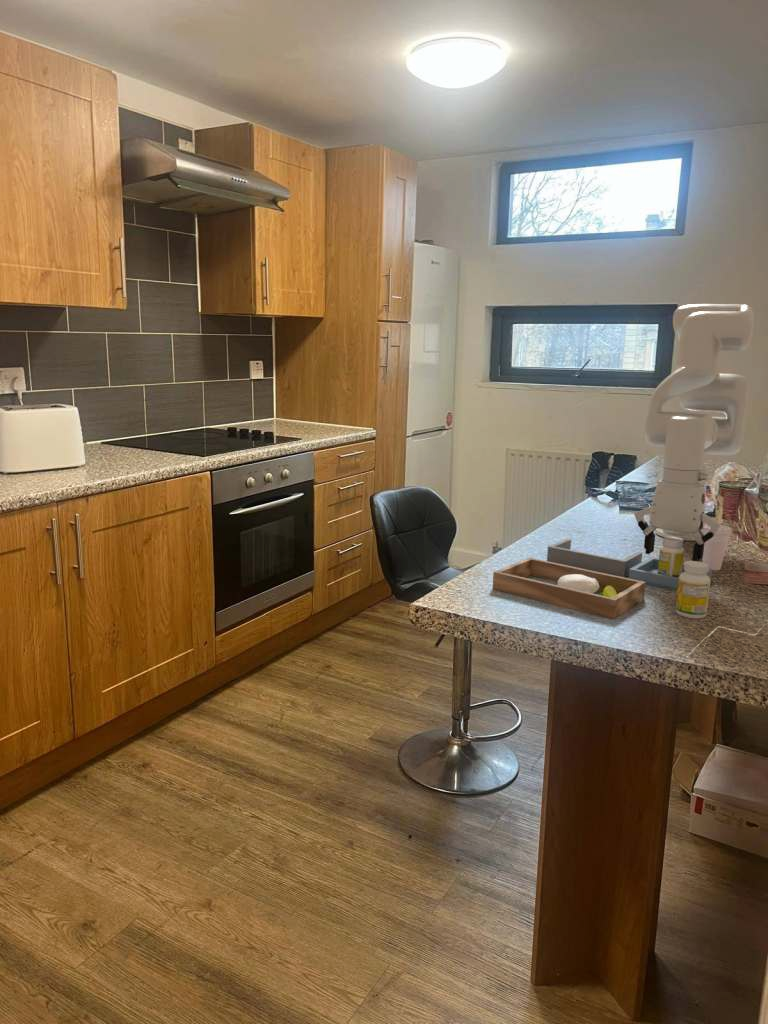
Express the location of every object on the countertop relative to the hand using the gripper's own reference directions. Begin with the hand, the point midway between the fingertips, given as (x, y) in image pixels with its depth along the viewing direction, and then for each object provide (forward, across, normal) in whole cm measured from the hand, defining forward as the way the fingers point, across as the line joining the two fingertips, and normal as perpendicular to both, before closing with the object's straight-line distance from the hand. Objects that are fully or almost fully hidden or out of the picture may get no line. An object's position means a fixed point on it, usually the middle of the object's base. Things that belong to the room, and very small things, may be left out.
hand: (672, 557), depth 154 cm
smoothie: (+5, -4, -16) cm, 17 cm away
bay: (+5, +17, 0) cm, 18 cm away
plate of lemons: (+6, +3, +21) cm, 22 cm away
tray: (+5, 0, 0) cm, 5 cm away
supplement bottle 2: (+5, -10, +19) cm, 22 cm away
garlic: (+5, +11, +22) cm, 25 cm away
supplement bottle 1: (+5, 0, 0) cm, 5 cm away
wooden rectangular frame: (+5, +12, +24) cm, 27 cm away
